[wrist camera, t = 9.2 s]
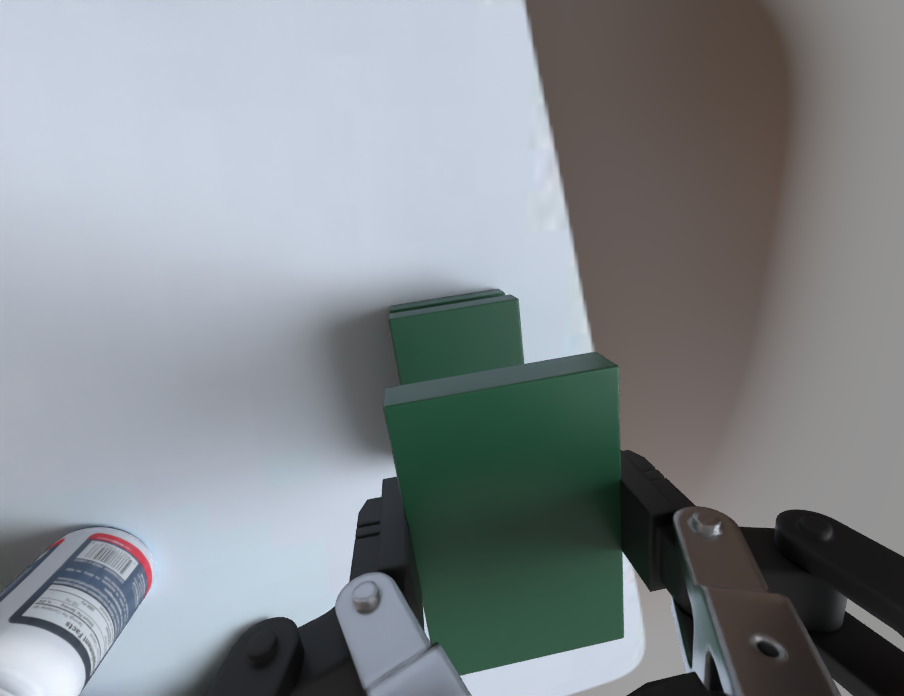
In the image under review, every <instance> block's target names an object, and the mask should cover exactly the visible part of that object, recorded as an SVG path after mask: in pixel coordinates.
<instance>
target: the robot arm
mask: <svg viewBox="0 0 904 696" xmlns="http://www.w3.org/2000/svg"><path fill="white" fill-rule="evenodd" d="M620 457H621V480H620V493H621V546H622V551H623V553H624V554H625V556H626V557H627V558H628V560H629V561H630V563H631V564H632V566H633V567H634V569H635V570H636V571H637V573H638V574H639V576H640V577H641V579H642V580H643V582H644V583H645V584H646V586H647V587H648V589H649V590H650V592H651V591H656V590H660V589H665V588H666V589H667V590H668V591H669V592H670V594H671V609H672V614H673V618H674V623H675V627H676V631H677V636H678V640H679V644H680V649H681V653H682V658H683V662H684V666H685V671H686V674H681V675H677V676H673V677H669V678H665V679H661V680H656V681H652V682H648V683H646V684H644V685H643V686H641V687H640V688H638V689H637V690H635V691H633V692H632V693H630V694H629V695H627V696H841V694H840V692H839V690H838V688H837V686H836V685H835V683H834V681H833V679H834V680H835V681H836V682H838V683H839V684H840V685H841V686H843V687H844V688H845V689H846V690H847V691H848V692H849V693H851V694H852V695H853V696H904V652H903V651H901V650H900V649H899V648H897V647H896V646H894V645H893V644H892V643H890V642H889V641H887V640H886V639H884V638H883V637H882V636H880V635H879V634H877V633H876V632H874V631H873V630H872V629H870V628H869V627H867V626H866V625H865V624H863V623H862V622H860V621H859V620H857V619H856V618H855V617H853V616H852V615H850V614H849V613H847V612H846V611H845V608H846V603H847V598H848V599H850V600H851V601H853V602H854V603H856V604H857V605H859V606H860V607H862V608H863V609H864V610H866V611H868V612H869V613H870V614H872V615H873V616H875V617H877V618H878V619H880V620H881V621H882V622H884V623H885V624H887V625H888V626H890V627H891V628H893V629H894V630H895V631H897V632H898V633H899V634H900V635H901V636H903V637H904V557H903V556H901V555H899V554H897V553H896V552H894V551H892V550H890V549H888V548H886V547H885V546H883V545H881V544H879V543H877V542H875V541H873V540H872V539H870V538H868V537H866V536H864V535H862V534H861V533H858V532H856V531H855V530H853V529H851V528H849V527H848V526H846V525H844V524H842V523H840V522H838V521H837V520H834V519H832V518H830V517H828V516H825V515H823V514H820V513H816V512H812V511H806V510H787V511H784V512H782V513H780V514H779V515H778V516H777V518H776V526H775V529H774V528H751V527H739V526H738V525H737V524H736V523H735V521H733V520H732V519H731V518H730V517H728V516H726V515H725V514H723V513H721V512H719V511H717V510H714V509H710V508H706V507H699V506H695V505H694V504H693V503H692V502H691V501H690V500H689V499H688V498H687V497H686V496H685V495H684V494H682V493H681V492H680V491H679V490H678V489H677V488H676V487H675V486H674V485H673V484H672V483H671V482H670V481H669V480H668V479H667V478H664V476H663V475H662V474H661V473H660V472H659V471H658V470H656V469H655V467H654V466H653V465H652V464H651V463H649V462H648V461H647V460H646V459H645V458H644V457H642V456H640V455H638V454H636V453H634V452H632V451H630V450H625V451H621V449H620ZM832 678H833V679H832ZM205 696H471V694H470V692H469V691H468V689H467V687H466V686H465V684H464V682H463V681H462V679H461V677H460V676H459V674H458V672H457V671H456V669H455V667H454V666H453V664H452V662H451V661H450V659H449V658H448V656H447V654H446V653H445V651H444V649H443V648H442V647H441V645H440V644H439V643H437V642H436V643H434V644H433V645H432V644H431V642H430V641H429V639H428V638H427V636H426V634H425V632H424V617H423V602H422V591H421V586H420V581H419V576H418V571H417V566H416V561H415V556H414V551H413V546H412V541H411V536H410V531H409V526H408V522H406V518H405V513H404V508H403V503H402V498H401V493H400V489H399V484H398V479H397V477H392V478H387V479H383V483H382V497H379V498H374V499H369V500H367V501H366V503H365V504H364V506H363V507H362V509H361V510H360V512H359V515H358V522H357V529H356V540H355V544H354V551H353V559H352V566H351V574H350V581H349V583H348V584H347V585H346V586H345V587H344V588H343V589H342V590H341V592H340V594H339V595H338V597H337V600H336V604H335V607H333V608H332V609H331V610H330V611H328V612H327V613H326V614H324V615H322V616H320V617H319V618H317V619H315V620H313V621H311V622H309V623H307V624H305V625H303V626H301V627H299V628H297V626H296V624H295V623H294V622H293V621H292V620H290V619H288V618H284V617H276V618H271V619H267V620H265V621H262V622H260V623H258V624H257V625H255V626H253V627H252V628H250V629H249V630H248V631H247V632H245V633H244V634H243V635H242V636H241V637H240V638H239V639H238V641H237V642H236V643H235V645H234V646H233V648H232V649H231V651H230V653H229V654H228V656H227V658H226V660H225V661H224V663H223V665H222V667H221V668H220V670H219V672H218V674H217V675H216V677H215V679H214V681H213V682H212V684H211V686H210V688H209V689H208V691H207V693H206V695H205Z"/></svg>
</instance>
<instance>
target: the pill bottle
mask: <svg viewBox="0 0 904 696" xmlns="http://www.w3.org/2000/svg"><path fill="white" fill-rule="evenodd" d="M155 575H156V565H155V561H154V558H153V556H152V554H151V552H150V551H149V549H148V548H147V547H146V546H145V545H144V544H143V543H142V542H141V541H140V540H139V539H137V538H136V537H134V536H132V535H130V534H128V533H126V532H123V531H121V530H117V529H112V528H106V527H93V528H85V529H81V530H77V531H74V532H71V533H69V534H67V535H65V536H63V537H62V538H60V539H59V540H57V541H56V542H55V543H54V544H53V545H51V546H50V547H49V548H48V549H47V550H46V551H45V552H44V553H43V554H42V555H41V556H39V557H38V558H37V559H36V560H35V561H34V562H33V563H32V564H31V565H30V566H29V567H28V568H27V569H26V570H25V571H23V572H22V573H21V574H20V575H19V576H18V577H17V578H16V579H15V580H14V581H13V582H12V583H11V584H10V585H9V586H8V587H6V588H5V589H4V590H3V591H2V592H1V593H0V696H79V694H80V693H81V691H82V690H83V689H84V687H85V686H86V684H87V682H88V681H89V679H90V678H91V677H92V675H93V674H94V672H95V671H96V669H97V668H98V666H99V665H100V663H101V662H102V660H103V659H104V657H105V656H106V654H107V653H108V651H109V650H110V648H111V647H112V645H113V644H114V642H115V641H116V639H117V638H118V636H119V635H120V633H121V632H122V630H123V629H124V627H125V626H126V624H127V623H128V621H129V620H130V618H131V617H132V615H133V614H134V612H135V611H136V609H137V608H138V606H139V605H140V603H141V602H142V601H143V599H144V598H145V596H146V595H147V593H148V591H149V590H150V588H151V587H152V585H153V582H154V579H155Z"/></svg>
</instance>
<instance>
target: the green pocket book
mask: <svg viewBox="0 0 904 696" xmlns="http://www.w3.org/2000/svg"><path fill="white" fill-rule="evenodd" d="M619 405H620V404H619V367H618V365H616V364H615V363H613V362H611V361H610V360H608V359H606V358H605V357H603V356H602V355H600V354H599V353H597V352H592V353H586V354H580V355H574V356H568V357H563V358H557V359H551V360H545V361H539V362H534V363H528V364H522V365H516V366H510V367H505V368H499V369H493V370H487V371H481V372H476V373H470V374H464V375H458V376H453V377H447V378H441V379H435V380H429V381H424V382H418V383H412V384H406V385H400V386H395V387H389V388H386V389H385V394H384V407H383V409H384V414H385V419H386V424H387V429H388V434H389V439H390V444H391V449H392V454H393V459H394V464H395V469H396V474H397V479H398V484H399V489H400V493H401V498H402V503H403V508H404V513H405V518H406V522H408V526H409V531H410V536H411V541H412V546H413V551H414V556H415V561H416V566H417V571H418V576H419V581H420V586H421V591H422V602H423V607H424V612H425V617H426V622H427V627H428V632H429V637H430V642H431V644H432V645H433V644H434V643H436V642H437V643H439V644H440V645H441V647H442V648H443V649H444V651H445V653H446V654H447V656H448V658H449V659H450V661H451V662H452V664H453V666H454V667H455V669H456V671H457V672H458V674H459V676H461V675H465V674H469V673H474V672H478V671H482V670H487V669H491V668H495V667H500V666H504V665H508V664H513V663H517V662H521V661H526V660H530V659H534V658H539V657H543V656H547V655H552V654H556V653H560V652H565V651H569V650H573V649H578V648H582V647H586V646H591V645H595V644H600V643H604V642H608V641H613V640H617V639H621V638H624V615H623V562H622V546H621V493H620V480H621V457H620V407H619Z"/></svg>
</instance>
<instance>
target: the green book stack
mask: <svg viewBox="0 0 904 696" xmlns="http://www.w3.org/2000/svg"><path fill="white" fill-rule="evenodd" d="M389 325H390V331H391V336H392V341H393V347H394V352H395V358H396V363H397V368H398V374H399V379H400V385H406V384H412V383H418V382H424V381H429V380H435V379H441V378H447V377H453V376H458V375H464V374H470V373H476V372H481V371H487V370H493V369H499V368H505V367H510V366H516V365H522V364H524V356H523V345H522V333H521V322H520V311H519V300H518V299H517V298H516V297H514V296H512V295H505V293H504V292H503V291H501V290H500V289H495V290H489V291H482V292H476V293H470V294H463V295H457V296H451V297H444V298H438V299H431V300H425V301H419V302H412V303H406V304H400V305H393V306H391V307H390V314H389Z"/></svg>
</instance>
